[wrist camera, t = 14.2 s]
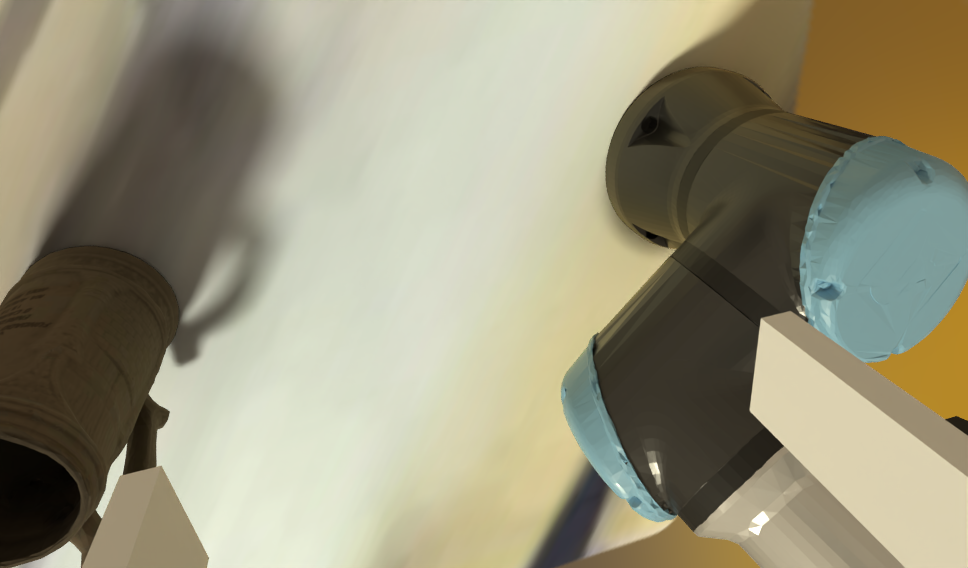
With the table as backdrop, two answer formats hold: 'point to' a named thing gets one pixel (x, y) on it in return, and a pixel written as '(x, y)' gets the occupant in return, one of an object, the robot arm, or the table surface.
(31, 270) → the beer stein
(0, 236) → the table surface
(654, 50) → the table surface
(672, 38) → the table surface
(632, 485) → the robot arm
